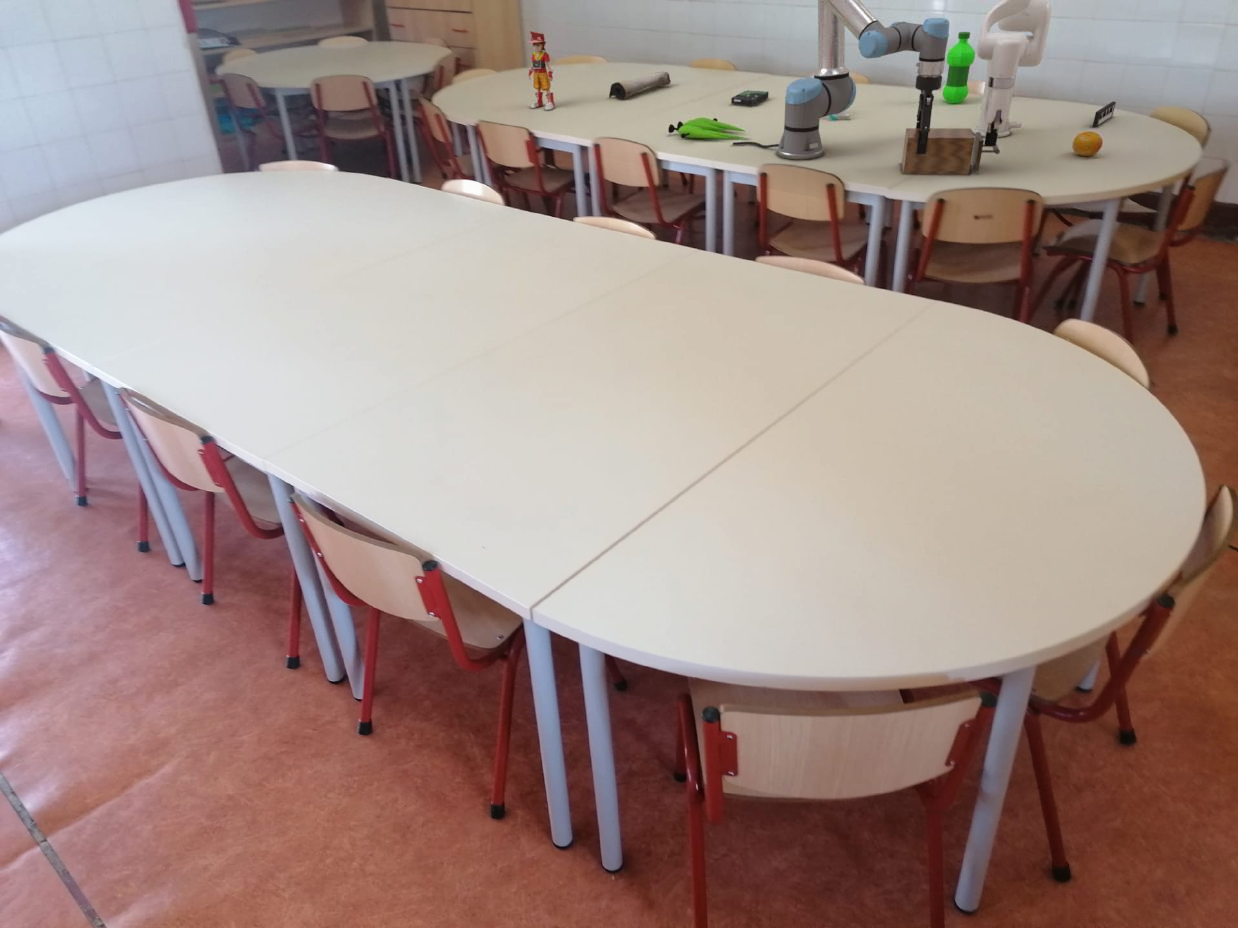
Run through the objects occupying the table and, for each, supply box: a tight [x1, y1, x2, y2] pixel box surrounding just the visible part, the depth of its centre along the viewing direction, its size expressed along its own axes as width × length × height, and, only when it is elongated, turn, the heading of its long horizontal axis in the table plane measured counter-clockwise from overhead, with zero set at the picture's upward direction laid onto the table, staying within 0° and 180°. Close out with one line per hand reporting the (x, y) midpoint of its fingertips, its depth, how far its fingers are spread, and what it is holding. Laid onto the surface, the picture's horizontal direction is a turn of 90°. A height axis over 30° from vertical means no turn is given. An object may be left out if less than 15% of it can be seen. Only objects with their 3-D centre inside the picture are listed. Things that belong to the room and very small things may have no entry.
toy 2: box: [667, 117, 749, 140], centre depth 332 cm, size 28×5×30 cm
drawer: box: [970, 132, 1001, 172], centre depth 283 cm, size 24×10×9 cm, turn 78°
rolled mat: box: [608, 71, 672, 101], centre depth 395 cm, size 30×9×10 cm
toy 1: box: [527, 31, 556, 111], centre depth 374 cm, size 12×9×30 cm
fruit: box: [1072, 131, 1103, 157], centre depth 289 cm, size 8×8×8 cm
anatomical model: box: [828, 111, 851, 121], centre depth 345 cm, size 15×10×10 cm
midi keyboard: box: [1092, 101, 1117, 128], centre depth 320 cm, size 18×1×5 cm, turn 138°
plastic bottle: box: [942, 31, 976, 104], centre depth 348 cm, size 10×10×25 cm
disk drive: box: [730, 89, 770, 107], centre depth 372 cm, size 10×3×15 cm
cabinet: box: [901, 127, 975, 175], centre depth 285 cm, size 20×11×11 cm, turn 78°
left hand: (919, 148), depth 285 cm, fingers closed on cabinet, 11 cm apart
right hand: (989, 145), depth 280 cm, fingers closed
